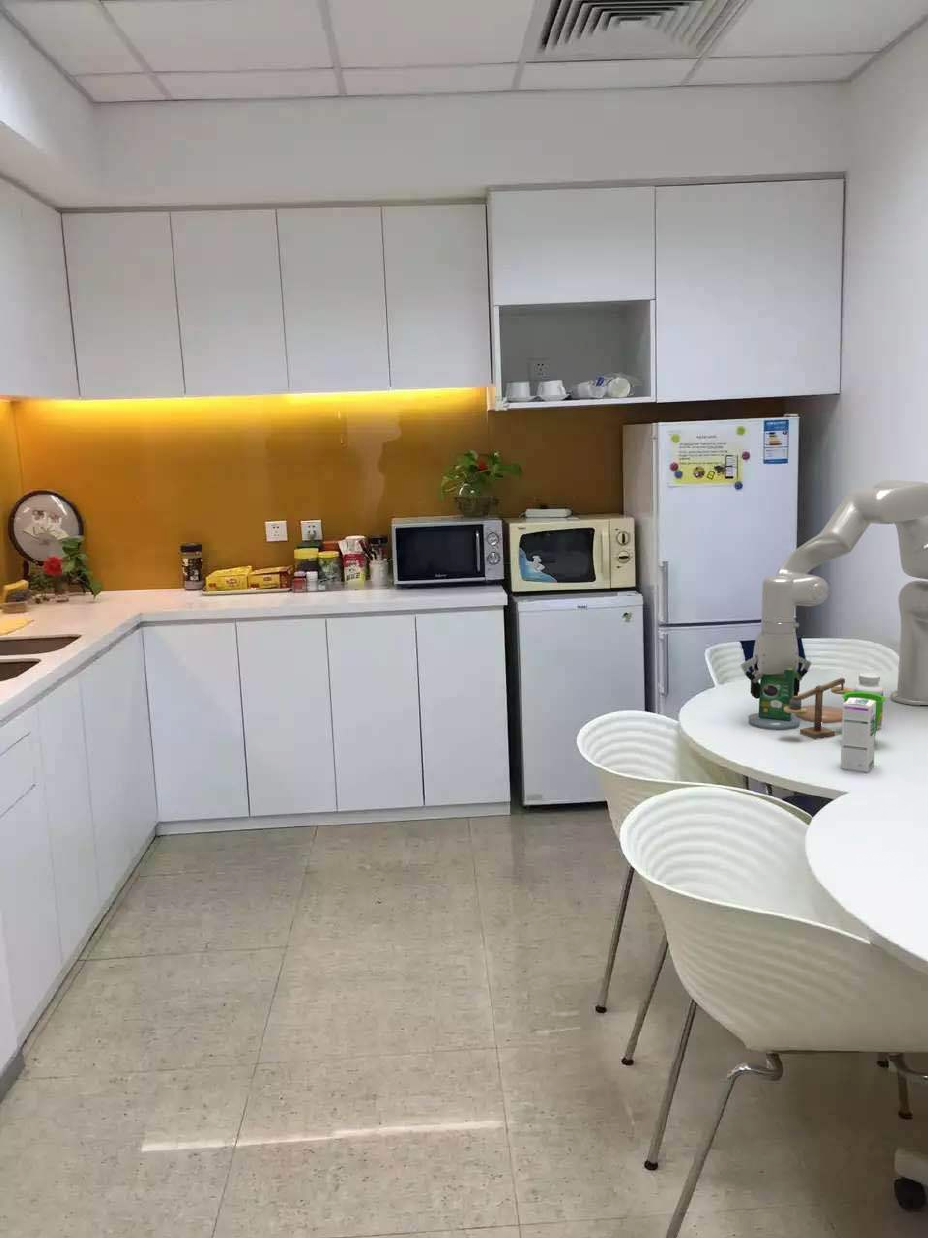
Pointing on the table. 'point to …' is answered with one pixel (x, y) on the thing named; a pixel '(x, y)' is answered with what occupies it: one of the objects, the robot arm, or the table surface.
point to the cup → (866, 695)
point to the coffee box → (776, 695)
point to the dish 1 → (773, 723)
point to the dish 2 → (828, 714)
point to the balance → (816, 707)
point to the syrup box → (858, 734)
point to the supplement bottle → (870, 688)
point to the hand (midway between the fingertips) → (774, 696)
